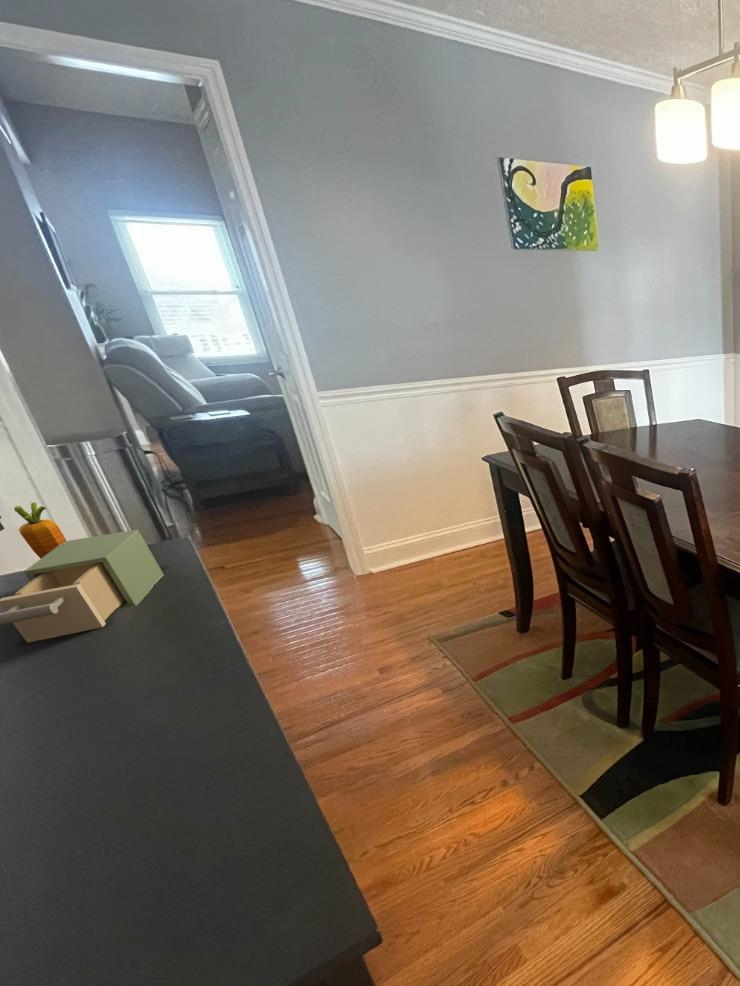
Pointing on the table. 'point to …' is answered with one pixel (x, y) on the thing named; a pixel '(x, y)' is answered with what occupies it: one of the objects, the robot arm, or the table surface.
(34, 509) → the carrot
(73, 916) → the table surface
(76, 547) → the cabinet
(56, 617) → the drawer
